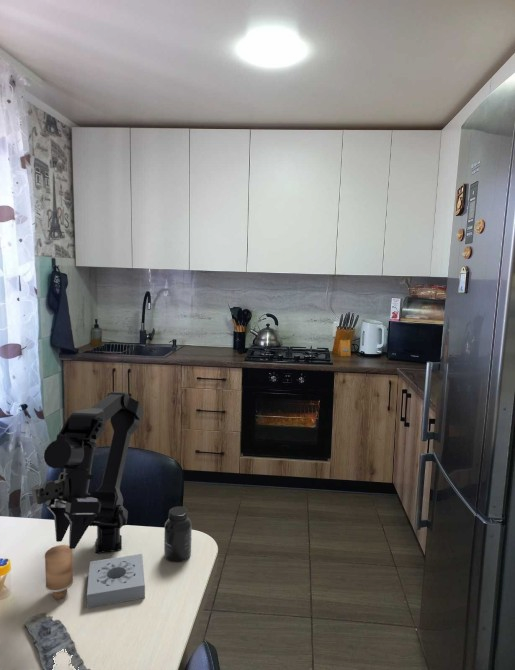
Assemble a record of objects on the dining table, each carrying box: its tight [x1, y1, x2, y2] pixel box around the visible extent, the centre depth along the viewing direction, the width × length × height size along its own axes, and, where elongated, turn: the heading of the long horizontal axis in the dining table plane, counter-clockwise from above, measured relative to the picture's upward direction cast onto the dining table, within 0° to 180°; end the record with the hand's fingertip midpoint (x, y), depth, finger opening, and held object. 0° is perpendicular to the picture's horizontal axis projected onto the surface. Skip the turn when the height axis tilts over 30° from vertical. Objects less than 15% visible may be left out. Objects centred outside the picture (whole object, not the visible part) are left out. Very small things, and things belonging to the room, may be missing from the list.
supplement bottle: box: [163, 506, 193, 563], centre depth 115 cm, size 7×7×12 cm
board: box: [86, 553, 146, 609], centre depth 103 cm, size 12×12×3 cm
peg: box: [44, 544, 74, 600], centre depth 99 cm, size 6×6×10 cm
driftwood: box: [23, 612, 91, 670], centre depth 86 cm, size 21×7×2 cm, turn 39°
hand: (65, 544), depth 96 cm, fingers open, 9 cm apart
